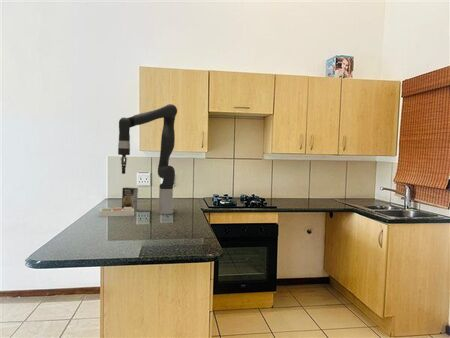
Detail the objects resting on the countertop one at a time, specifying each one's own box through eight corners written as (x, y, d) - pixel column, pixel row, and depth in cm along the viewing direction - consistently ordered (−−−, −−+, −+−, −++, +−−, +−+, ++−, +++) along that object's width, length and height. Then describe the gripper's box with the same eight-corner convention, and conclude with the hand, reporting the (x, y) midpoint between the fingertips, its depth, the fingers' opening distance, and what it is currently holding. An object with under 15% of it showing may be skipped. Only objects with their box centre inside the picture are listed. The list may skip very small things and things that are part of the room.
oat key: (131, 211, 213) (131, 207, 212) (131, 212, 208) (131, 208, 208) (123, 211, 211) (123, 207, 211) (123, 213, 206) (123, 208, 206)
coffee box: (121, 210, 225) (121, 187, 225) (126, 209, 232) (126, 187, 231) (132, 211, 223) (133, 188, 223) (137, 209, 229) (138, 187, 229)
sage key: (110, 211, 208) (111, 207, 208) (110, 213, 203) (110, 208, 203) (102, 212, 207) (102, 207, 207) (102, 213, 202) (102, 208, 202)
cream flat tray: (133, 213, 214) (133, 208, 214) (134, 215, 207) (134, 210, 207) (100, 214, 208) (100, 209, 207) (99, 216, 200) (99, 211, 200)
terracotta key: (121, 211, 210) (121, 207, 210) (121, 213, 206) (121, 208, 205) (113, 211, 209) (113, 207, 209) (112, 213, 204) (113, 208, 204)
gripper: (130, 147, 206) (129, 174, 207) (129, 148, 219) (129, 173, 220) (118, 147, 204) (117, 174, 205) (118, 147, 216) (117, 173, 217)
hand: (123, 173), depth 212 cm, fingers closed
